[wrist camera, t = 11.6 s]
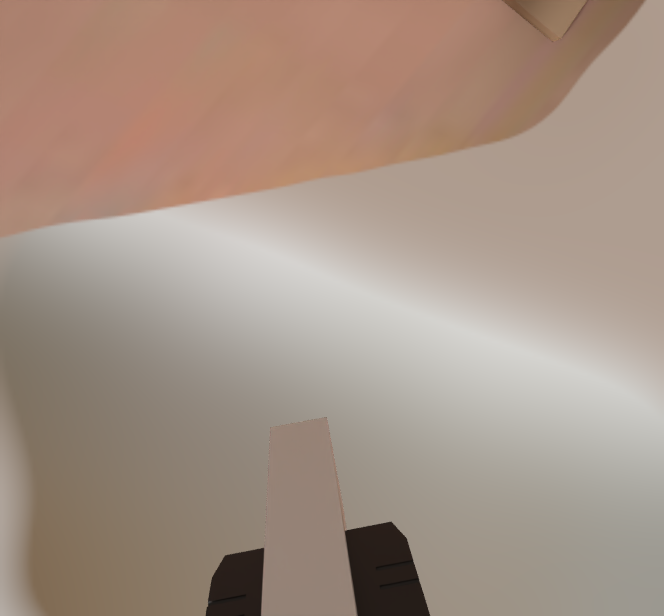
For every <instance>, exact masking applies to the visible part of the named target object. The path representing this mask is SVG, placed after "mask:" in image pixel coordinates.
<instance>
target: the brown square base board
mask: <svg viewBox="0 0 664 616" xmlns="http://www.w3.org/2000/svg"><path fill="white" fill-rule="evenodd" d="M503 1H504V2H505V3H506V4H507V5H509V6H510V7H511V8H512V9H513V10H515V11H516V12H517V13H518V14H520V15H521V16H522V17H523V18H524V19H526V20H527V21H528V22H529V23H530V24H532V25H533V26H534V27H535V28H537V29H538V30H539V31H540V32H541V33H543V34H544V35H545V36H546V37H547V38H549V39H550V40H551V41H552V42H554V41H557V40H559V39H561V38H562V37H563V35H564V34H565V32H566V31H567V29H568V28H569V26H570V25H571V23H572V22H573V20H574V19H575V17H576V16H577V14H578V13H579V11H580V10H581V9H582V7H583V6H584V4H585V3H586V1H587V0H503Z"/></svg>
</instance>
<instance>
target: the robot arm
mask: <svg viewBox="0 0 664 616" xmlns="http://www.w3.org/2000/svg"><path fill="white" fill-rule="evenodd" d="M206 616H430V614H429V611H428V607H427V604H426V601H425V597H424V594H423V591H422V588H421V584H420V582H419V578H418V574H417V571H416V568H415V565H414V562H413V558H412V555H411V551H410V548H409V545H408V542H407V538H406V537H405V536H404V535H403V534H402V533H401V532H400V531H399V530H398V529H397V527H396V526H395V525H394V524H393V523H392V522H387V523H383V524H377V525H372V526H367V527H362V528H356V529H351V530H347V529H346V523H345V516H344V510H343V504H342V498H341V493H340V487H339V481H338V476H337V471H336V465H335V460H334V454H333V449H332V444H331V438H330V433H329V427H328V422H327V417H324V418H319V419H314V420H308V421H303V422H298V423H292V424H287V425H281V426H276V427H271V428H270V445H269V465H268V487H267V506H266V527H265V547H264V548H261V549H256V550H251V551H246V552H241V553H235V554H230V555H226V556H225V557H224V558H223V560H222V562H221V563H220V565H219V567H218V569H217V570H216V572H215V573H214V575H213V577H212V581H211V587H210V593H209V598H208V607H207V610H206Z"/></svg>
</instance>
